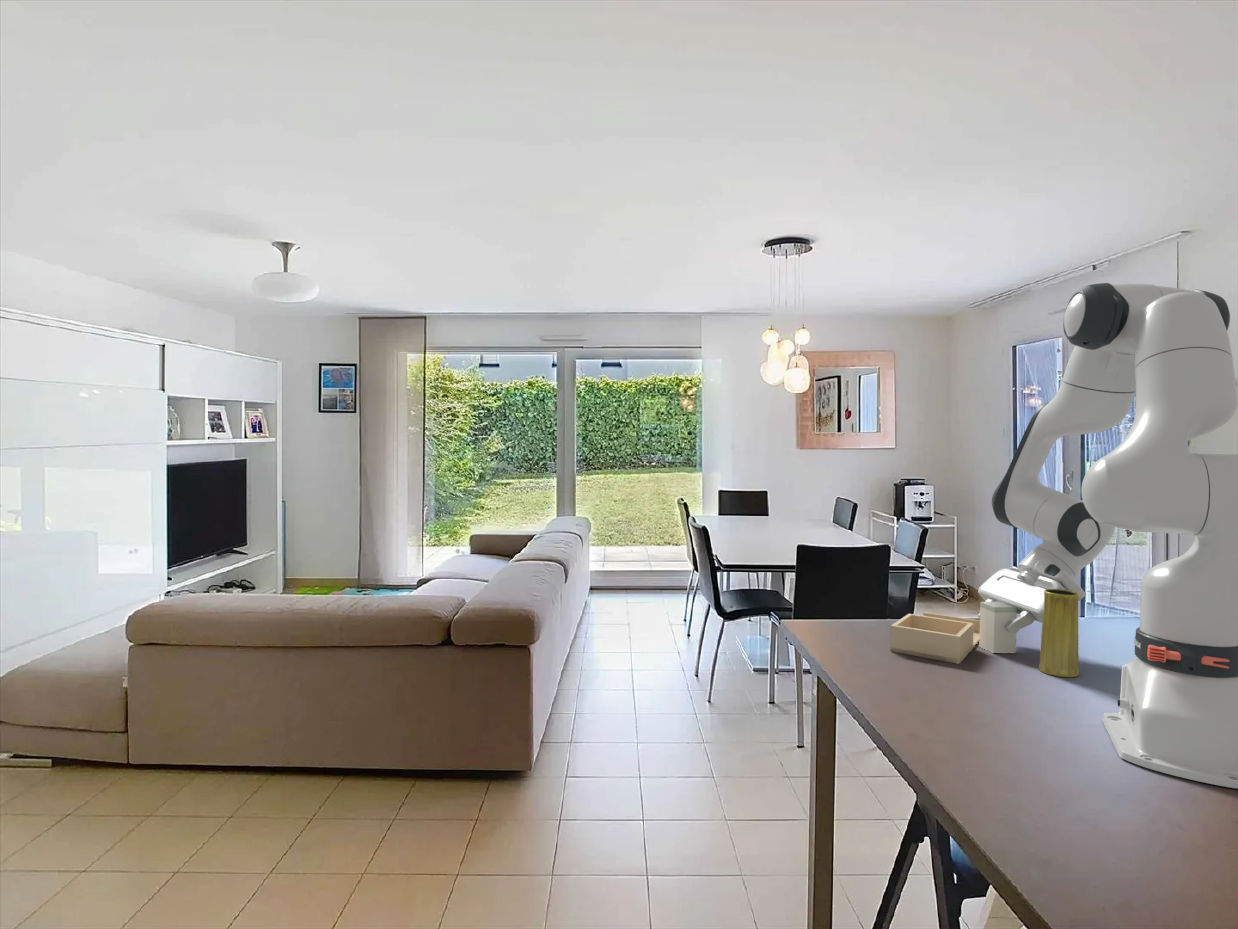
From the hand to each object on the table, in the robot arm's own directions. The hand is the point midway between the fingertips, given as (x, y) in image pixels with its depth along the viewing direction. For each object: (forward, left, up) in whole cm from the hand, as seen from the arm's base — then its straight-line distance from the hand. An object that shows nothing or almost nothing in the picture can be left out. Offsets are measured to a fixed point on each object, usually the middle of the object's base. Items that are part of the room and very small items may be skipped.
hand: (994, 625), depth 137 cm
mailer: (-1, +10, -5) cm, 11 cm away
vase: (-8, -11, -5) cm, 15 cm away
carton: (0, 0, -5) cm, 5 cm away
